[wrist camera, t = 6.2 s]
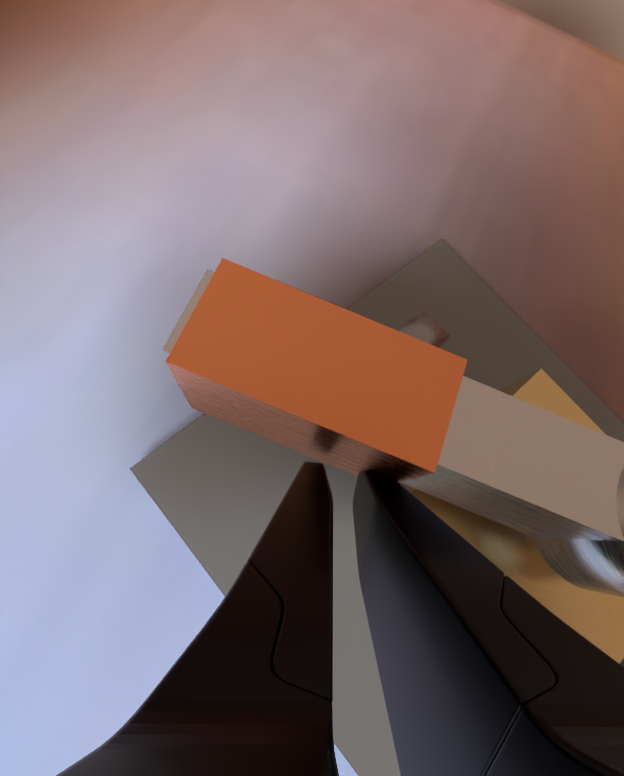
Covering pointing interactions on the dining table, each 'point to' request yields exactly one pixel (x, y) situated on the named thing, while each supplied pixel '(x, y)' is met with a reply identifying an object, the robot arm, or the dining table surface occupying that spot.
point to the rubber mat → (346, 475)
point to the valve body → (517, 550)
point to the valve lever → (400, 417)
